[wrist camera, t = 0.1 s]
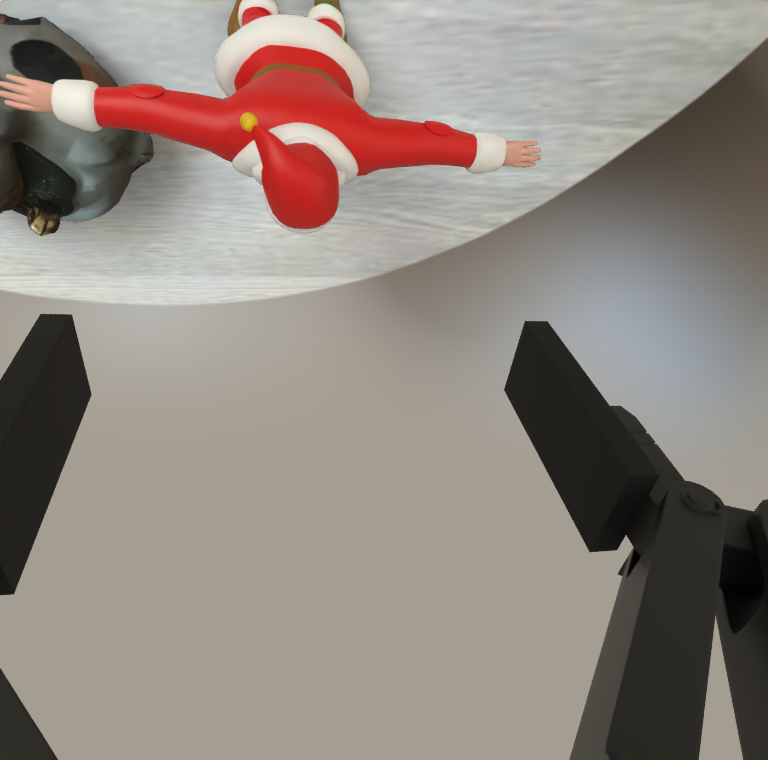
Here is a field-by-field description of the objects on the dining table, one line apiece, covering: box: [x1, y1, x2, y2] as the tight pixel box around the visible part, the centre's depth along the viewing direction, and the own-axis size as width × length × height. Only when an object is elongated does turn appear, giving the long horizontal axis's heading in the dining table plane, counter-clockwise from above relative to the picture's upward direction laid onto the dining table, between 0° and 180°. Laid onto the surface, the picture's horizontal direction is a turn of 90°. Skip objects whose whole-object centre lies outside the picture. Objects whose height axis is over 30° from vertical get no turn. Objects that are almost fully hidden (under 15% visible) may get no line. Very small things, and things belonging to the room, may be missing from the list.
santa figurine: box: [0, 0, 541, 233], centre depth 29 cm, size 25×6×19 cm, turn 78°
